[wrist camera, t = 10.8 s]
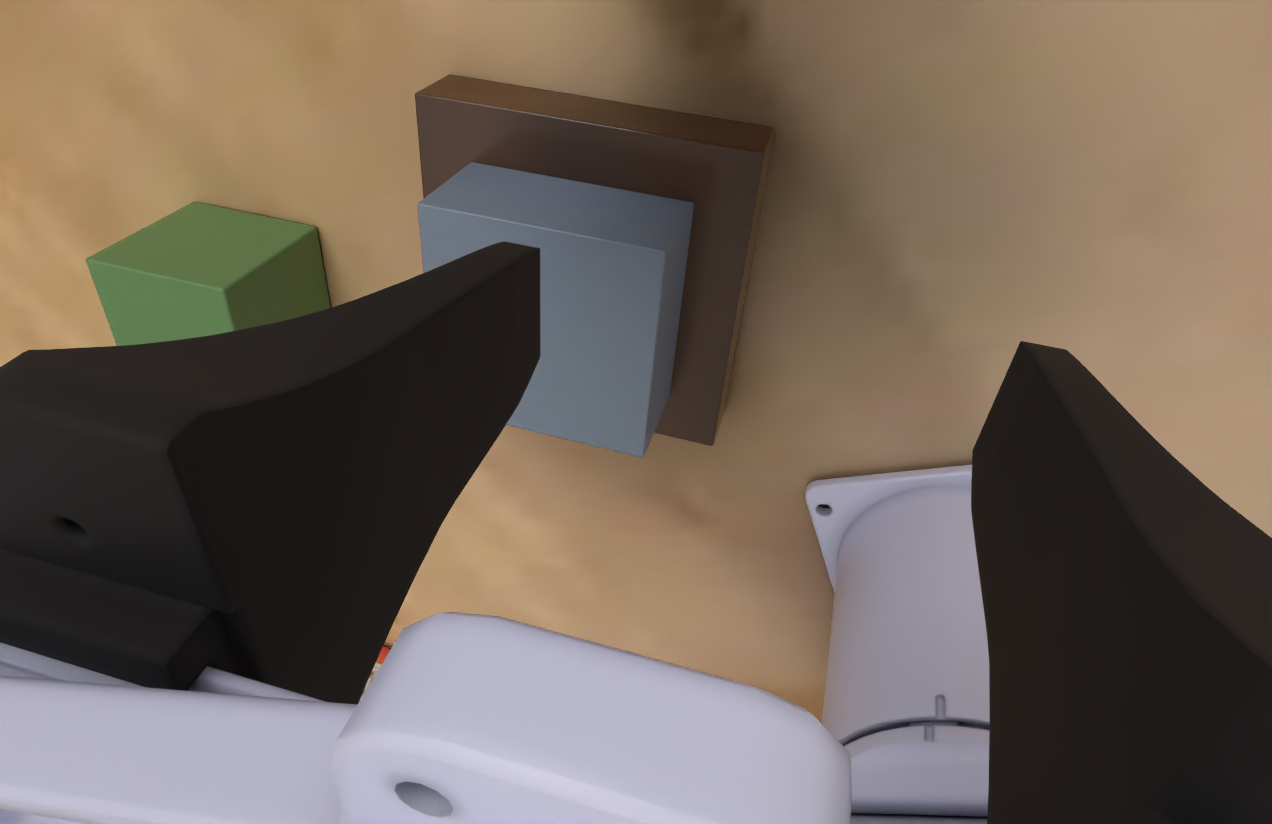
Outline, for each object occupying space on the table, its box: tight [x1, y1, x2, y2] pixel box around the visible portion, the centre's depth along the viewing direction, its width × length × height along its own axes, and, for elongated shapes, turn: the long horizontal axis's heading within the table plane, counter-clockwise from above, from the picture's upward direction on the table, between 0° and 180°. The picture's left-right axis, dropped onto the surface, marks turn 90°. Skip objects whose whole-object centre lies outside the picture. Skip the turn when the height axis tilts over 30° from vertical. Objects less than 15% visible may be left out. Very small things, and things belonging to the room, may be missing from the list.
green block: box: [86, 202, 330, 346], centre depth 26 cm, size 5×5×5 cm
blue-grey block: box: [418, 162, 694, 457], centre depth 21 cm, size 6×6×3 cm
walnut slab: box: [415, 75, 775, 446], centre depth 23 cm, size 9×9×2 cm
